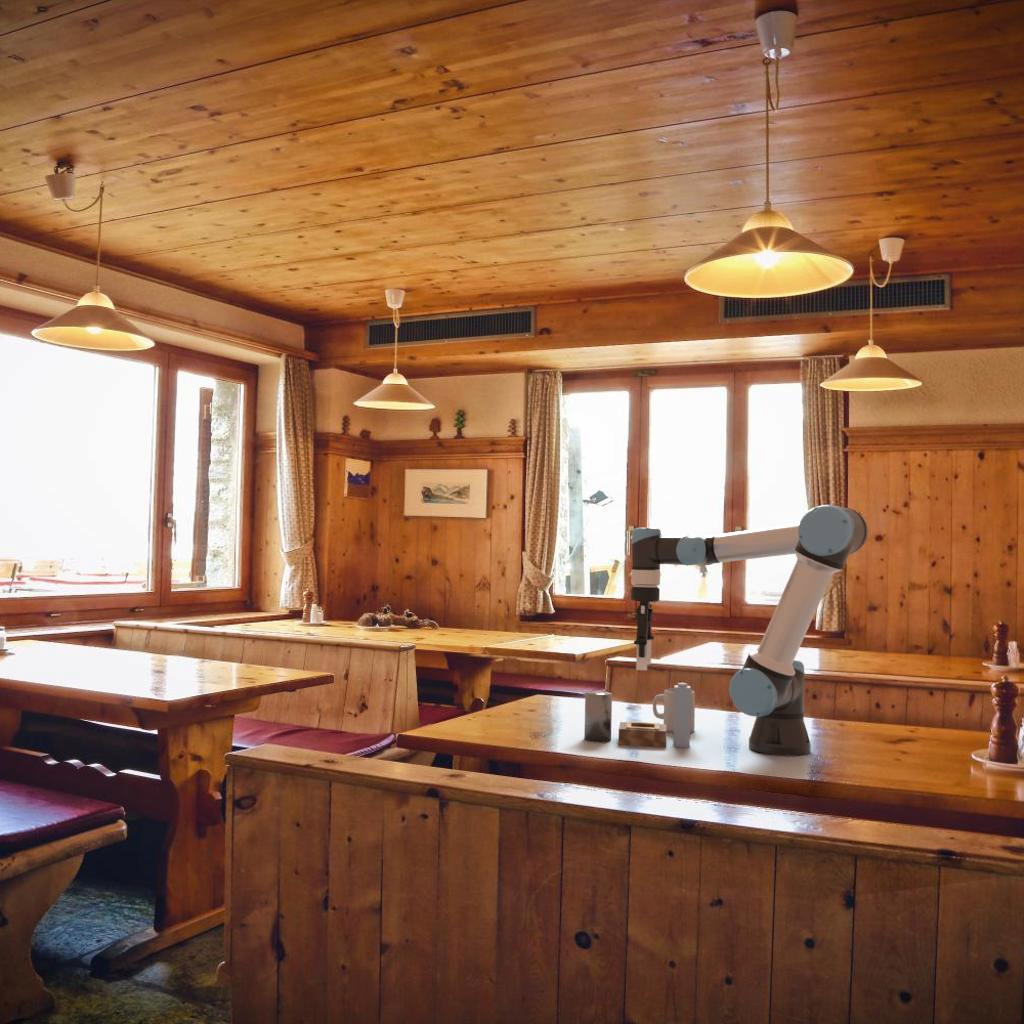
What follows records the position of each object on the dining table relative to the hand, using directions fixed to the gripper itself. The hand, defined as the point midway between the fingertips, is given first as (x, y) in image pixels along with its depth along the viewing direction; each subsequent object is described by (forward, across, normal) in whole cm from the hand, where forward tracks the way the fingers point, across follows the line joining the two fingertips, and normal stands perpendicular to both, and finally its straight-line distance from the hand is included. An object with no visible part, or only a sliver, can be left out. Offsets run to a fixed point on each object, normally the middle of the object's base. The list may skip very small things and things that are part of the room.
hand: (643, 667), depth 251 cm
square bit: (+19, +3, +10) cm, 22 cm away
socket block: (+19, +2, 0) cm, 19 cm away
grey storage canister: (+19, +3, -11) cm, 22 cm away
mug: (+19, -18, +7) cm, 28 cm away
